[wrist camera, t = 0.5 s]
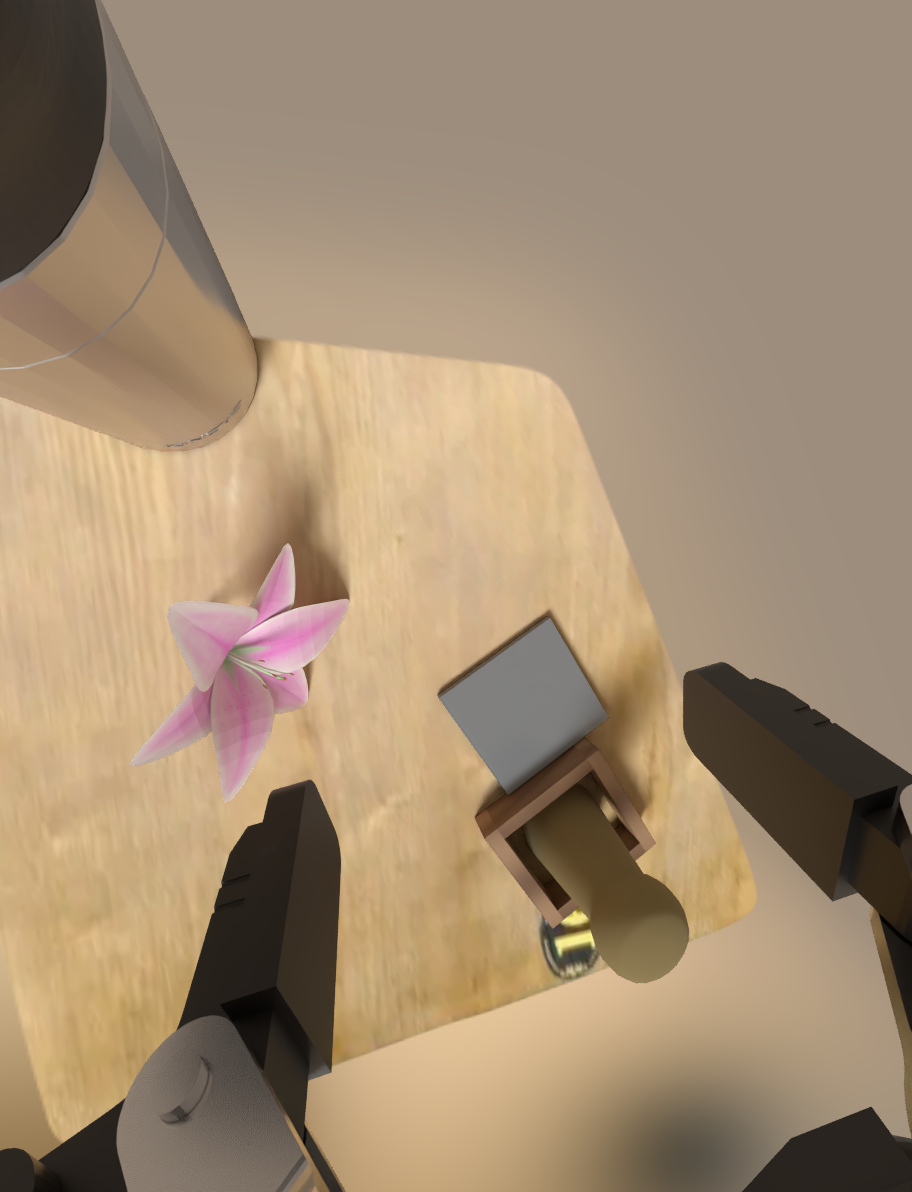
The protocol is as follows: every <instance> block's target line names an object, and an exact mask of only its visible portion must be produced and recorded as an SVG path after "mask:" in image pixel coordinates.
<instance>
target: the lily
mask: <svg viewBox="0 0 912 1192" xmlns="http://www.w3.org/2000/svg"><path fill="white" fill-rule="evenodd" d="M294 598H295V567H294V557H293V553H292V548H291V546H290V545H289V543H287V544H286V545H285V546H284V547H283V549H282V550H281V552H280V554H279V556H278V557H277V559H276V561H275V563H274V564H273V566H272V568H271V570H270V572H269V573H268V575H267V577H266V579H265V581H264V582H263V584H262V586H261V588H260V590H259V591H258V593H257V595H256V597H255V599H254V600H253V602H252V604H251V606H250V607H247V606H239V605H231V604H224V603H216V602H205V601H180V602H178V603H176V604H174V605H172V606H169V611H168V617H167V618H168V621H169V625H170V628H171V631H172V634H173V636H174V638H175V641H176V643H177V645H178V647H179V649H180V652H181V654H182V656H183V658H184V660H185V662H186V664H187V666H188V668H189V670H190V672H191V675H192V677H193V679H194V681H195V683H196V684H195V685H194V687H193V688H192V689H191V690H190V692H189V693H188V694H187V695H186V696H185V697H184V698H183V700H182V701H181V702H180V703H179V704H178V705H177V707H176V708H175V709H174V710H173V711H172V712H171V714H170V715H169V716H168V717H167V718H166V719H165V720H164V722H163V723H162V724H161V725H160V726H159V727H158V729H157V730H156V731H155V732H154V733H153V734H152V736H151V737H150V738H149V739H148V740H147V742H146V743H145V744H144V745H143V746H142V747H141V749H140V750H139V751H138V752H137V754H136V755H135V756H134V757H133V759H132V761H131V763H130V765H132V766H140V765H143V764H147V763H150V762H153V761H156V760H159V759H161V758H164V757H166V756H169V755H171V754H173V753H176V752H178V751H180V750H182V749H184V748H186V747H188V746H190V745H192V744H194V743H196V742H197V741H199V740H201V739H202V738H204V737H206V736H207V735H208V734H209V733H210V732H211V731H212V733H213V740H214V745H215V751H216V756H217V761H218V766H219V774H220V782H221V789H222V796H223V799H224V802H229V801H230V800H231V799H233V798H234V797H235V796H236V794H237V793H238V791H239V790H240V789H241V787H242V786H243V784H244V783H245V781H246V780H247V778H248V776H249V775H250V773H251V771H252V770H253V768H254V767H255V765H256V763H257V761H258V759H259V757H260V755H261V753H262V751H263V750H264V748H265V745H266V743H267V740H268V738H269V735H270V733H271V730H272V725H273V720H274V714H279V713H285V712H290V711H294V710H297V709H299V708H301V707H303V706H304V705H305V704H306V702H307V700H308V685H307V680H306V676H305V673H304V670H303V668H302V667H304V666H306V665H307V664H308V663H309V662H311V661H312V660H313V659H314V658H316V657H317V656H318V654H319V653H320V652H321V651H322V650H323V649H324V647H325V646H326V645H327V644H328V642H329V641H330V639H331V638H332V637H333V635H334V634H335V632H336V631H337V629H338V627H339V626H340V624H341V622H342V621H343V619H344V617H345V615H346V613H347V611H348V607H349V602H350V601H349V600H348V599H340V600H334V601H330V602H325V603H319V604H313V605H308V606H303V607H299V608H296V609H293V610H292V608H293V605H294Z"/></svg>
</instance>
